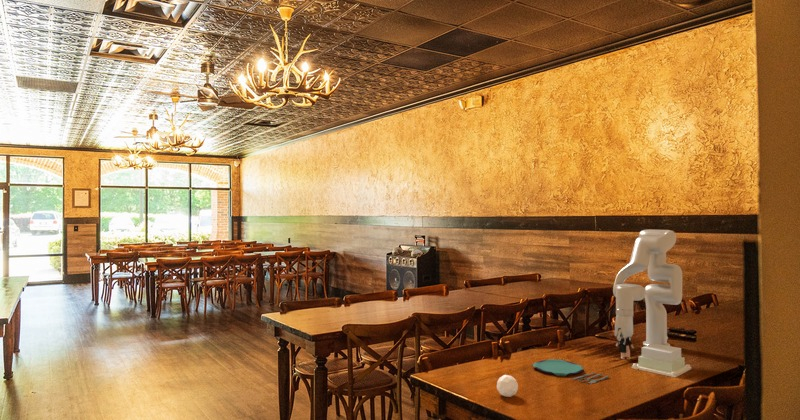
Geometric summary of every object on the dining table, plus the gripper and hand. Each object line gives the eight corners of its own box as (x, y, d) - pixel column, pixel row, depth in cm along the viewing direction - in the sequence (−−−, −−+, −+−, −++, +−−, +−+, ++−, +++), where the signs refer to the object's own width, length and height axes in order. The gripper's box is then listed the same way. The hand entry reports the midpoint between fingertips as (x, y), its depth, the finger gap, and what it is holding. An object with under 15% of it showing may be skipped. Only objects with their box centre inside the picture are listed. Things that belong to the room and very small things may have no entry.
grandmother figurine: (632, 357, 246) (632, 330, 246) (634, 359, 242) (634, 332, 242) (615, 356, 247) (614, 330, 247) (616, 359, 244) (616, 331, 244)
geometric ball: (502, 404, 192) (489, 386, 193) (509, 390, 199) (496, 373, 199) (518, 398, 188) (504, 380, 188) (525, 384, 194) (511, 367, 194)
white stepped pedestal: (649, 360, 241) (648, 340, 241) (691, 369, 228) (691, 348, 228) (631, 368, 229) (631, 347, 229) (675, 377, 216) (675, 355, 216)
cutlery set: (554, 361, 240) (554, 356, 240) (613, 379, 215) (613, 373, 215) (524, 369, 229) (524, 363, 229) (583, 389, 204) (583, 383, 204)
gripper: (624, 309, 253) (624, 347, 253) (608, 313, 242) (608, 353, 242) (640, 311, 248) (640, 350, 247) (624, 315, 236) (624, 356, 236)
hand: (624, 351), depth 245 cm, fingers closed on grandmother figurine, 3 cm apart
